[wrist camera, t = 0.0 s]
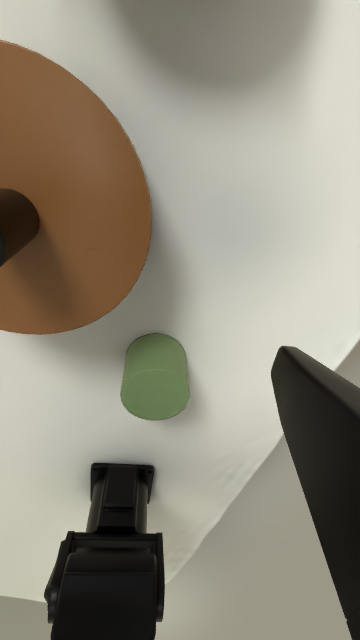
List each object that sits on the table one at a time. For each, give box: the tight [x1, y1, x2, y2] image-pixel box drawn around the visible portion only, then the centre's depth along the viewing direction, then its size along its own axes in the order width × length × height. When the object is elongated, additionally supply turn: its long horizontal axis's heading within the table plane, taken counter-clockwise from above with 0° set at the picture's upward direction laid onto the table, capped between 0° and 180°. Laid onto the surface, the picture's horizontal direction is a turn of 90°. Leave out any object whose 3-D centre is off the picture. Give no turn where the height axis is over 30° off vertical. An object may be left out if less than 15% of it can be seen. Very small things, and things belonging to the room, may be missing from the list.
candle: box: [120, 334, 190, 420], centre depth 25 cm, size 5×5×4 cm
